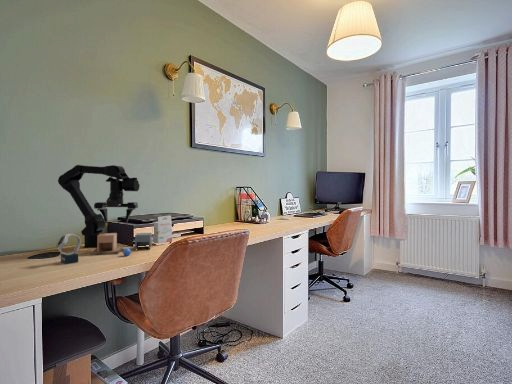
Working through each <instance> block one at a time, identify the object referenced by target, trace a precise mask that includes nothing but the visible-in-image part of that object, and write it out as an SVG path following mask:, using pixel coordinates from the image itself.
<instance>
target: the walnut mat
mask: <svg viewBox="0 0 512 384" xmlns="http://www.w3.org/2000/svg"><path fill="white" fill-rule="evenodd" d="M122 250H124V247H123V246H117V248H116V249H115V250H114V251H112V248H107V249H101V250H100V251H99V252H97V248H95V249H94V250H92V251H91V252H90V253H89V255H90V256H102V255H104V256H105V255H119V254H120V253H121V252H122Z"/></svg>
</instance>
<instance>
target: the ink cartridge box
mask: <svg viewBox="0 0 512 384" xmlns="http://www.w3.org/2000/svg"><path fill="white" fill-rule="evenodd" d="M153 224H154V234H153V233H152V243H153V242H154V243H158V244H159V243H166V242H172V243H173V237H172V236H173V229H172V228H173V226H172V225H173V223H172V215H164V216H158V217H157V221H152V225H153Z"/></svg>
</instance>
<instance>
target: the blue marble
mask: <svg viewBox="0 0 512 384" xmlns="http://www.w3.org/2000/svg"><path fill="white" fill-rule="evenodd" d="M122 250H123V251H122V254H123V255H124V256H125V257H127V256H130V255H131V254H132V250H131V249H130V248H128V247H127V248H123V249H122Z"/></svg>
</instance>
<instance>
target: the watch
mask: <svg viewBox="0 0 512 384" xmlns="http://www.w3.org/2000/svg"><path fill="white" fill-rule="evenodd" d="M70 236H75V237H76V238H77V243H76V245H75V247H74V248H73V251H70V252H66V253H65V252H63V251H62V250H63V248H64V247H65V245H66V244H67V242H68V240H69V238H70ZM81 245H82V239H81V237H80V236H78V235H76V234H74V233H67V234H64V235H62V236H61V237H60V238H59V239H58V241H57V243H56V248H57V250H58V252H60V253H61V254H60V262H61V263H62V264H64V265H69V264H75V263H79V254H78V253H77V252H78V251H79V249H80V248H81Z"/></svg>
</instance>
